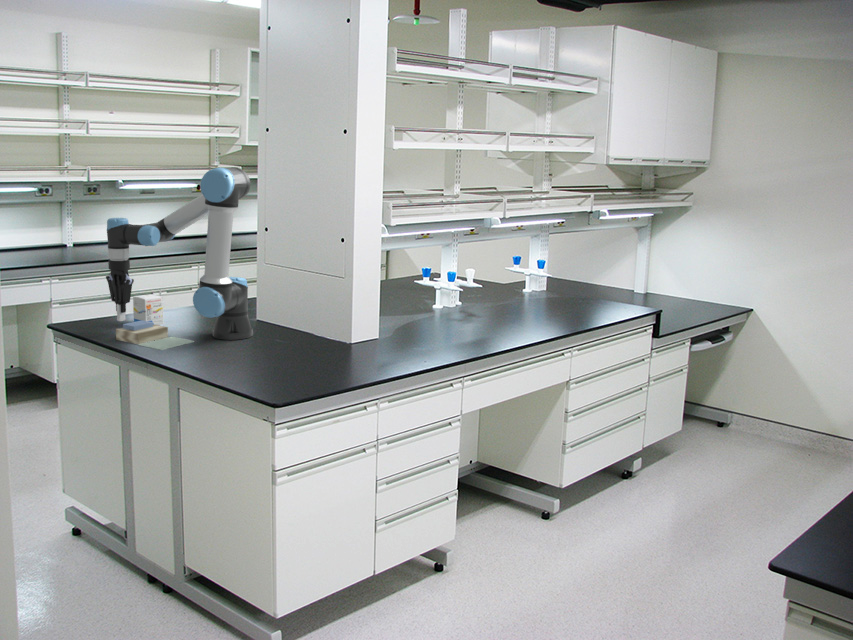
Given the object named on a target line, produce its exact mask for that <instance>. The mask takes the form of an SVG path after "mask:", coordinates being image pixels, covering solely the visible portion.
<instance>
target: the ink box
mask: <svg viewBox="0 0 853 640" xmlns="http://www.w3.org/2000/svg"><path fill="white" fill-rule="evenodd" d="M132 300H133V301H132V306H133V307H132V308H133V310H132V311H133V322H136V321H141V320H143V321H148V322H153V324H154V325H159V326H162V325H161V324H163V325H164V306H163V304H164V303H163V296H160V295H157V294H150V293H149V294H143V295H133V297H132Z"/></svg>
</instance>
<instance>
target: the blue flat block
mask: <svg viewBox="0 0 853 640" xmlns="http://www.w3.org/2000/svg"><path fill="white" fill-rule="evenodd" d="M149 327H153V322H148V321H143V320H141V321H136V322H134V321H132V322H127V323H123V324H122V328H123V329H128V330H133V331H135V330H140V329H144V328H149Z"/></svg>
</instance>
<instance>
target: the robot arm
mask: <svg viewBox="0 0 853 640" xmlns="http://www.w3.org/2000/svg"><path fill="white" fill-rule="evenodd" d="M199 185H200V186H199V189H200V192H201V194H200V195H199V196H197V197H196V198H194V199H192V200H190V201H189V202H188V203H186V204H185V205H183V206H181V207H179V208H178V209H176V210H175V211H172V212H171V213H169V214H167V216H165V217H164V218H162V219H160V220H158V221H157V222H153V223H152V222H151V223H146V224H132V223H131V224H130V223H129V219H128V218H126V217H125V218H124V217H109V218H108V219H107V220H106V235H107V258H108V262H107V263H108V270H109V271H110V273H109V275H106V276H105V279H106V282H107V283H108V284H107V285H108V289H109V292H110V293H109V295H110V299H111V302H114V304H115V311H116V320H117V321H118V322H123V321H126V320H127V319H126V312H127V304H129V303H130V302H131V297H132V287H133V285H134V282H135V280H134V278H130V275H129V270H130V268H131V263H130V262H131V261H130V245H135V246H145V247H154V246H156V245H158V243H163V242H164V243H165V242H169V241H171V240H173V239H174V238H175V236H176V235H177V234H178V233H181V232H182V231H183V230H185V229H187V228H189V227H191V226H192V225H193V224H195V223H197V222H198V221H200V220H202V219H204V218H205V217H206V216H208V220H207V231H206V232H207V233H206V246H205V259H204V260H205V261H204V262H205V263H204V274H203V275H202V276H201V277H200V278H199V285H198V289H196V290H195V292H194V293H193V297H192V303H193V307H194V309H195V310H196V311H197V312H198V314H200V315H201V316H202V317H204V318H210V319H211V318H216V319H215V321H214V326H213V328H212V337H214V338H215V339H218V340H228V341H229V340H230V341H231V340H233V341H234V340H235V341H236V340H244V339H248V338H251V337H253V335H254V331H253V327H252V325H251V322H250V318H249V314H248V313H249V311H248V310H249V304H248V303H249V301H248V300H249V297H248V295H249V293H248V288H249V286H248V280H247V279H246V278H245V277H238V276H237V277H236V276H229V275H230V274H229V272H230V263H231V262H230V261H231V260H230V259H231V246H232V238H233V237H232V236H233V234H232V233H233V221H234V212H235V211H236V210H237V209H239V201H240V200H241V199H243V198H244V197H246V196H247V195H248V193H249V192H250V190H251V179H250V176H249V174H247V172H246V171H245V170H243V169H241V168H240V167H215V168H212V169H209V170H208V171H206V173H205V174H204V175H203V176H202V177H201V180H200V183H199Z"/></svg>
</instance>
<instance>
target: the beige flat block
mask: <svg viewBox="0 0 853 640" xmlns="http://www.w3.org/2000/svg"><path fill="white" fill-rule="evenodd" d="M168 328H169V327H168V326H163V325H154V324H153V327H149V328H144V329H140V330H135V331H133V330H128V329H123V327H120V328H116V329H115V339H116V341H121V342H126V343H130V344H135V345H138V344H143V343H146V342H150V341H154V340H159V339H164V338H168V337H169V330H168Z"/></svg>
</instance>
